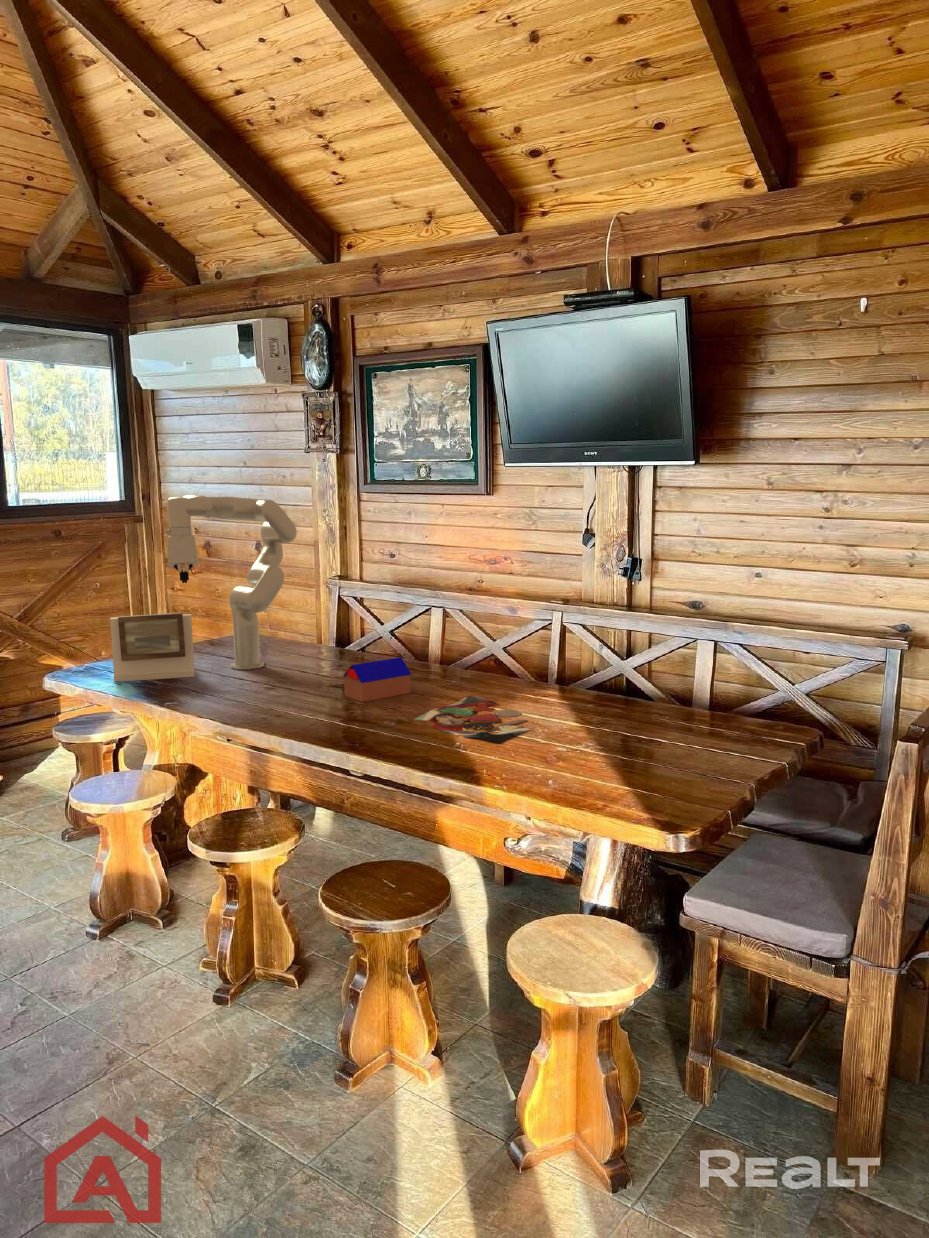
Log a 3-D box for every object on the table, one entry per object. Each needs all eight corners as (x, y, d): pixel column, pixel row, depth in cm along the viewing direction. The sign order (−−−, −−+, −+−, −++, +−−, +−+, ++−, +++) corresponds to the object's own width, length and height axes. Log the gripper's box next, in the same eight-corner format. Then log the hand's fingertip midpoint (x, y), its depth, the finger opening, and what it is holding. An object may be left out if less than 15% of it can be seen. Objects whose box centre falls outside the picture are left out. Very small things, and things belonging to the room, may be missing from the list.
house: (411, 693, 312) (411, 659, 311) (362, 702, 300) (361, 668, 298) (392, 686, 322) (391, 654, 320) (343, 695, 310) (342, 662, 308)
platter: (400, 726, 274) (400, 720, 274) (469, 701, 303) (469, 696, 303) (498, 746, 254) (498, 739, 253) (562, 718, 282) (562, 712, 282)
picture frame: (122, 659, 331) (118, 616, 328) (185, 655, 337) (182, 612, 334) (121, 661, 328) (117, 617, 326) (185, 656, 334) (182, 613, 332)
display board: (116, 677, 338) (111, 615, 335) (194, 672, 346) (191, 612, 342) (114, 681, 331) (109, 619, 327) (194, 676, 338) (191, 615, 334)
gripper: (157, 533, 322) (162, 585, 325) (201, 531, 325) (205, 582, 328) (159, 532, 329) (163, 582, 332) (202, 530, 332) (206, 580, 336)
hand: (184, 582), depth 330 cm, fingers closed
